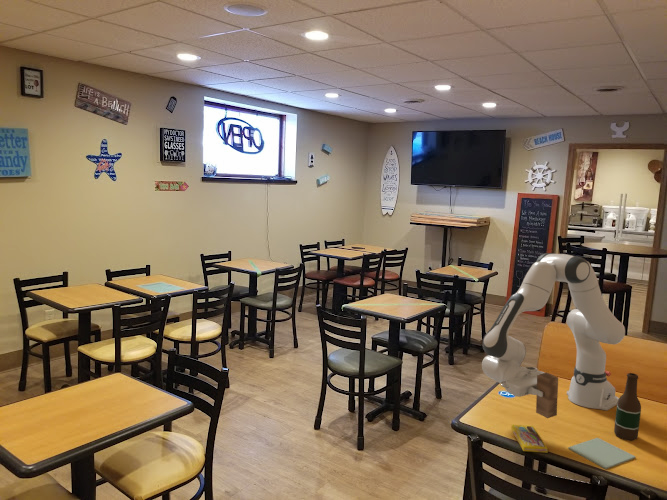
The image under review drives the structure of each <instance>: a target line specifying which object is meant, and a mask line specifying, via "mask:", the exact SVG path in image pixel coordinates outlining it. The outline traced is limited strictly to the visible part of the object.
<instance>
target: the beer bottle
mask: <svg viewBox="0 0 667 500" xmlns="http://www.w3.org/2000/svg"><path fill="white" fill-rule="evenodd" d="M626 377H627V378H626V382H625V387H624V388H625V389H624V391H623V393H622V394H621V395H620V396H619V397H618V398H619V399H618V402H617V405H616V409H615V410H616V411H615V419H614V429H613V432H614V434H615V436H616V437H617V438H619V439H622V440H623V441H629V442H635V441H636V440H638V437H639V430H640V421H641V414H642V405H641V401H640V399H639V398H638V379H639V375H638V374H637V373H633V372H629V373H627V374H626Z"/></svg>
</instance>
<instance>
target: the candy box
mask: <svg viewBox="0 0 667 500" xmlns="http://www.w3.org/2000/svg"><path fill="white" fill-rule="evenodd" d="M510 429H511V431H512V433H513V435H514V436H515V438H516V441H517V442H518V444H519V446H520V448H521V449H522V451H523V452H533V453H546V454H547V453H549V451H548V450H549V448H548V446H547V444H546V443H545V441H544V440H543V439H542V437H541V436H540V434H539V432H538V430H536V428H535V426H534V425H521V424H511V427H510Z"/></svg>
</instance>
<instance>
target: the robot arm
mask: <svg viewBox="0 0 667 500" xmlns="http://www.w3.org/2000/svg"><path fill="white" fill-rule="evenodd" d="M556 282H559V283H560V282H561V283H567V285H568V289H569V291H570V297H571V299H572V302H573V303H572V304H573V305H574V307H575V308H574V309H571V311H569V312H568V314H567V316H566V324H567V326H568V329H570V330H571V333H572V334H573V338H574V342H575V346H576V347H575V348H576V359H575V361H576V362H575V366H574V369H573V376H572V377H571V379H570V380H571V381H570V384H569V390H567V391H566V395H567V397H568V400H569V401H570V402H571V403H573V404H575V405H578V406H581V407H583V408H588V409H596V410H597V409H598V410H601V411H608V410H610V409H612V408H614V407H615V406H617V402H618V399H619V398H620V397H618V396H616V388H615V386H613V384H612V383H611V382H610V381H608V379H607V377H611V375H612V373H611V371H608V370H606V362H607V354H606V351H605V350H604V349H603V347H602V345H601V344H608V345H618V344H619V343H621V342H622V341H623V340H624V338H625V335H626V327H625V326H624V324H623V323H622V322H621V321H620V320H618V319H617V317H616V316H615V315H614V314H613V313H612V311H611V310H610V308H609V307H608V305H607V304H606V302H605V300H604V298H603V297H604V296H603V295H602V291H601V289H600V285H599V281H598V278H597V275H596V272H595V270H594V268H593V267H592V265H591V263H590V262H589V261H587V260H586V259H585V258H584V257H580V256H578V255H577V256H575V255H572V254H566V253H551V252H548V253H547V252H546V253H542V254H541V255H539V257H537V259H536V260H535V262H534V263H532V265H531V266H530V268H529V269H528V271H527V272H526V274H525V276H524V278H523V280H522V282H521V285H520V287H519V288H518V290H517V291H516V292H515V293H514V294H512V295H511V296H510V297H509V299H508V300H507V301H506V303H505V304H504V306H503V308H502V309H501V310H500V313H498V316H497V318H496V319H495V321H494V323H493V324H492V326H491V328H490V329H488V331H487V332H486V333H485V334H484V336H483V338H482V349H483V350H484V353H485V354H487V355H486V356H484V358H483V360H481V361H482V362H481V368H482V369H481V370H482V372H483V374H484V375H485V376H487V377H488V378H489V379H491V380H493V381H495V382H497V383H499V384H500V387H502V388H504V389H505V391H506V392H507V393H509V394H511V395H513V396H515V397H518V398H520V397H524V396H529V395H532V396H537V395H538V396H540V397H543V396H545V392H544V391H542V390H537V375H539V374H543V373H545V372H544V371H542V370H541V371H540V370H539V369H538V368H537V367H533V366H532V367H530V366H529V367H528V366H526V367H525V366H521V365H522V364H523V362H524V359H525V357H526V354H527V348H526V345H525V344H524V343H523V341H521V340H518V339H517V338H514V337H512V336H511V335H509V331H510V330H511V328H512V326H513V325H514V323H515V321H516V319H518V318H517V317H518V316H519V315H520V314H522V313H523V312H535V311H538V310H541V309H543V308H544V307H545V306H546V304H547V302H548V301H549V298H550V296H551V293H552V291H553V289H554V288H553V287H554V285H555V283H556Z"/></svg>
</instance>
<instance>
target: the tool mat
mask: <svg viewBox="0 0 667 500" xmlns="http://www.w3.org/2000/svg"><path fill="white" fill-rule="evenodd" d="M568 450H569V451H571V452H574V454H577V455H579V456H581V457H583V458H585V459H586V460H588V461H590V462H591V463H594V464H595V465H597V466H599V467H600V468H602V469H605V470H608V469H611V468H613V467H616V466H619V465H621V464H623V463H626V462H629V461H631V460H633V459H636V455H633V454H631V453H630V452H628V451H625V450H623V449H621V448H620V447H617V446H615V445H614V444H611V443H610V442H608V441H605V440H603V439H601V438H599V437H595V438H592V439H590V440H585V441H583V442H580V443H576V444H574V445H571V446H568Z"/></svg>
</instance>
